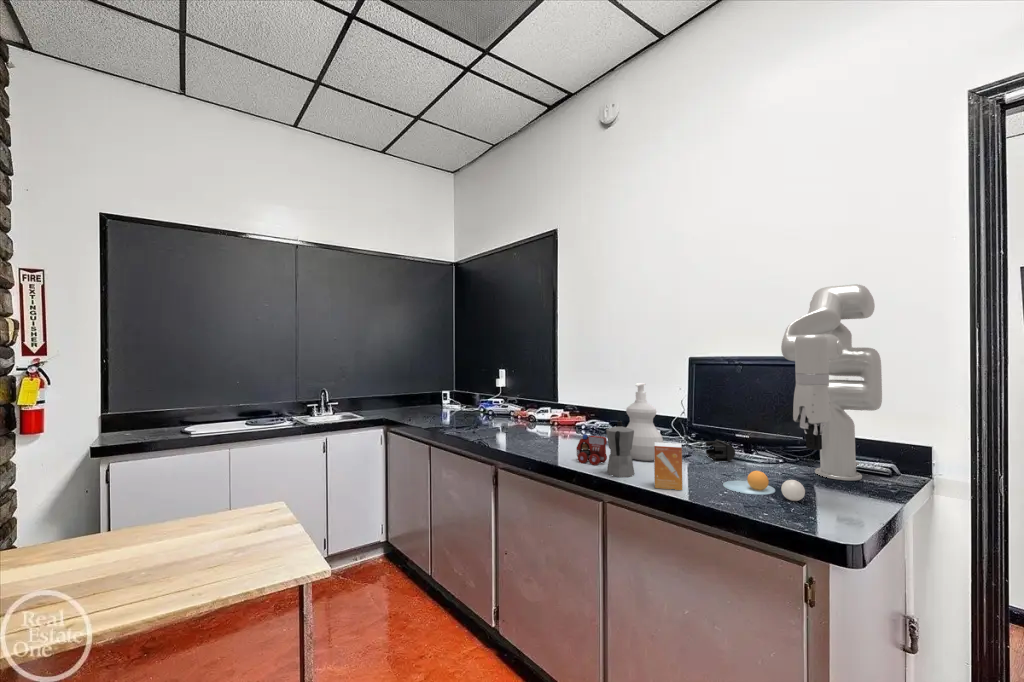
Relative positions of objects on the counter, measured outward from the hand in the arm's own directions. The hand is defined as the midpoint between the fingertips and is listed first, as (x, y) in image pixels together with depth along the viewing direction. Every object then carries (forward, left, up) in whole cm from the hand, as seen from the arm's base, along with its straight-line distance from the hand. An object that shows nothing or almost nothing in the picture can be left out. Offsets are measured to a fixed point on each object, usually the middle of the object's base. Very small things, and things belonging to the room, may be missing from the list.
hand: (814, 448), depth 121 cm
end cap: (-25, -47, -15) cm, 55 cm away
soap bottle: (0, -63, -15) cm, 65 cm away
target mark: (0, -19, -15) cm, 24 cm away
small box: (+20, -32, -15) cm, 41 cm away
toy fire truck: (+20, -69, -15) cm, 73 cm away
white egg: (+1, -5, -12) cm, 13 cm away
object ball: (0, -16, -12) cm, 20 cm away
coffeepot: (+23, -50, -15) cm, 57 cm away
